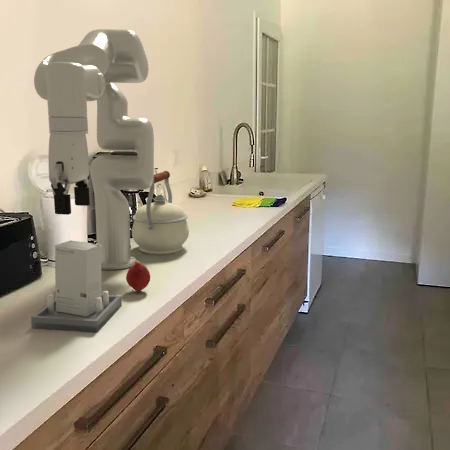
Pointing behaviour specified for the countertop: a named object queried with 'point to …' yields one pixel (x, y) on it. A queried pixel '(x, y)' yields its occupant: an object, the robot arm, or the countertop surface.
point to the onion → (138, 276)
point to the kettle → (160, 222)
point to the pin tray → (72, 322)
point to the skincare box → (77, 277)
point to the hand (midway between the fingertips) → (73, 209)
